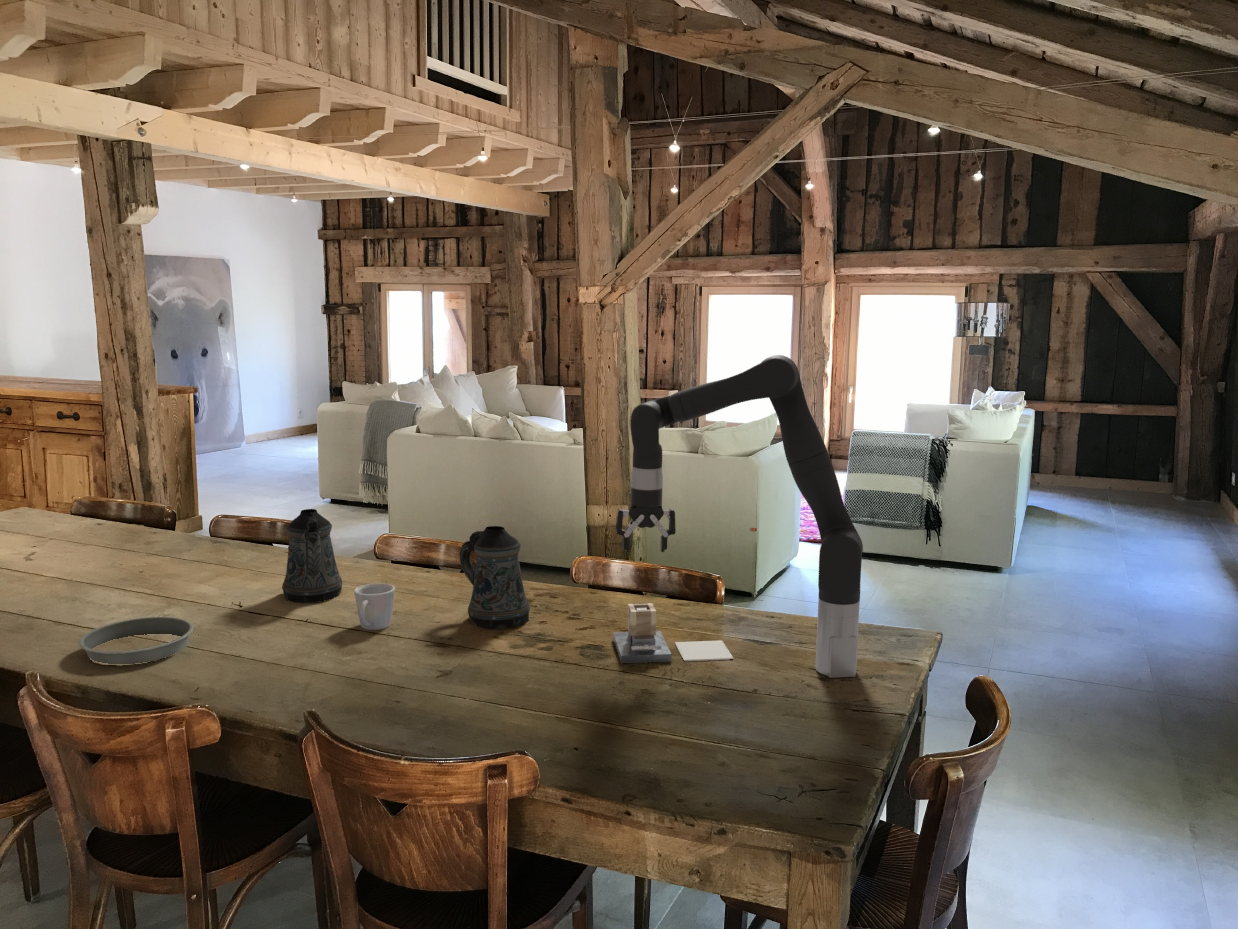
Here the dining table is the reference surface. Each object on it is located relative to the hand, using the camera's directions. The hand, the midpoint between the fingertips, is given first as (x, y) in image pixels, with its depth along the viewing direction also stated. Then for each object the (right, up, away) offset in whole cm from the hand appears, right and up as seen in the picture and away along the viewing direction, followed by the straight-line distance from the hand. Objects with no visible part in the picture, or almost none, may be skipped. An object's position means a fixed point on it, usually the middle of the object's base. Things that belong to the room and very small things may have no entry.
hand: (644, 551), depth 227 cm
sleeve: (-1, -20, +2) cm, 20 cm away
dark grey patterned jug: (-94, -17, +44) cm, 105 cm away
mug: (-70, -22, +17) cm, 75 cm away
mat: (+14, -25, +2) cm, 29 cm away
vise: (-1, -24, +2) cm, 25 cm away
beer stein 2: (-40, -21, +25) cm, 51 cm away
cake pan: (-122, -24, +1) cm, 125 cm away
